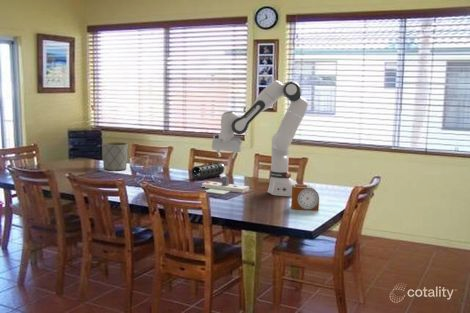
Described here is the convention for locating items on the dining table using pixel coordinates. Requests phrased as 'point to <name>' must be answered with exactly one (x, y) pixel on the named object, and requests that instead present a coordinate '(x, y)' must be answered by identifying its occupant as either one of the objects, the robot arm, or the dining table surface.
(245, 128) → the robot arm
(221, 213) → the dining table surface
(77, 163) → the dining table surface
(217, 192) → the mat
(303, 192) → the alarm clock
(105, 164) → the planter
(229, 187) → the socket bar
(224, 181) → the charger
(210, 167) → the muzzle brake
